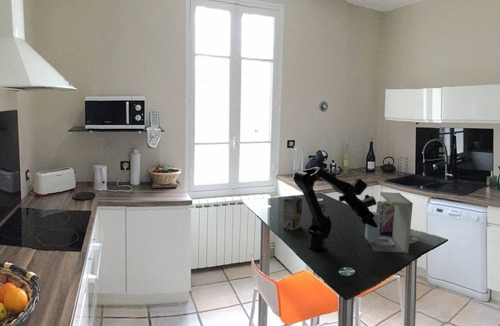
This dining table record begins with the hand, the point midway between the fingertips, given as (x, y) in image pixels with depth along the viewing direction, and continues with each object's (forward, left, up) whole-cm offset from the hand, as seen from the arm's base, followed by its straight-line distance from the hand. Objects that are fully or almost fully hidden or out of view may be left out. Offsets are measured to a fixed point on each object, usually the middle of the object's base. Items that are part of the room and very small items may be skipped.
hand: (375, 225), depth 178 cm
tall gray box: (-1, +1, -7) cm, 7 cm away
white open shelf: (+4, -4, -9) cm, 11 cm away
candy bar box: (+22, +6, -9) cm, 24 cm away
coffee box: (-15, +40, -9) cm, 44 cm away
